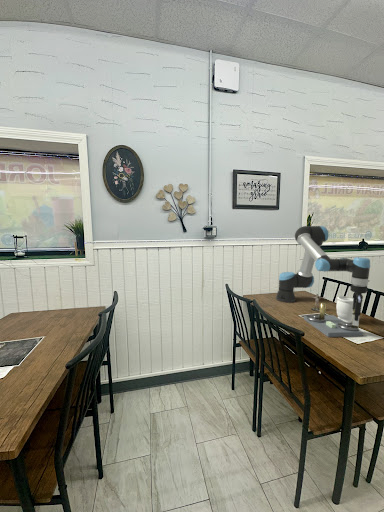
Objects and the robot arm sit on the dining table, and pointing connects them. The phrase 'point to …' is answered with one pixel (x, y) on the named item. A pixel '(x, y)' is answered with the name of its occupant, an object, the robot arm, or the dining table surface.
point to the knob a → (321, 316)
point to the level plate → (331, 330)
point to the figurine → (316, 302)
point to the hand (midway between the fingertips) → (354, 324)
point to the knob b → (348, 326)
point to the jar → (344, 308)
